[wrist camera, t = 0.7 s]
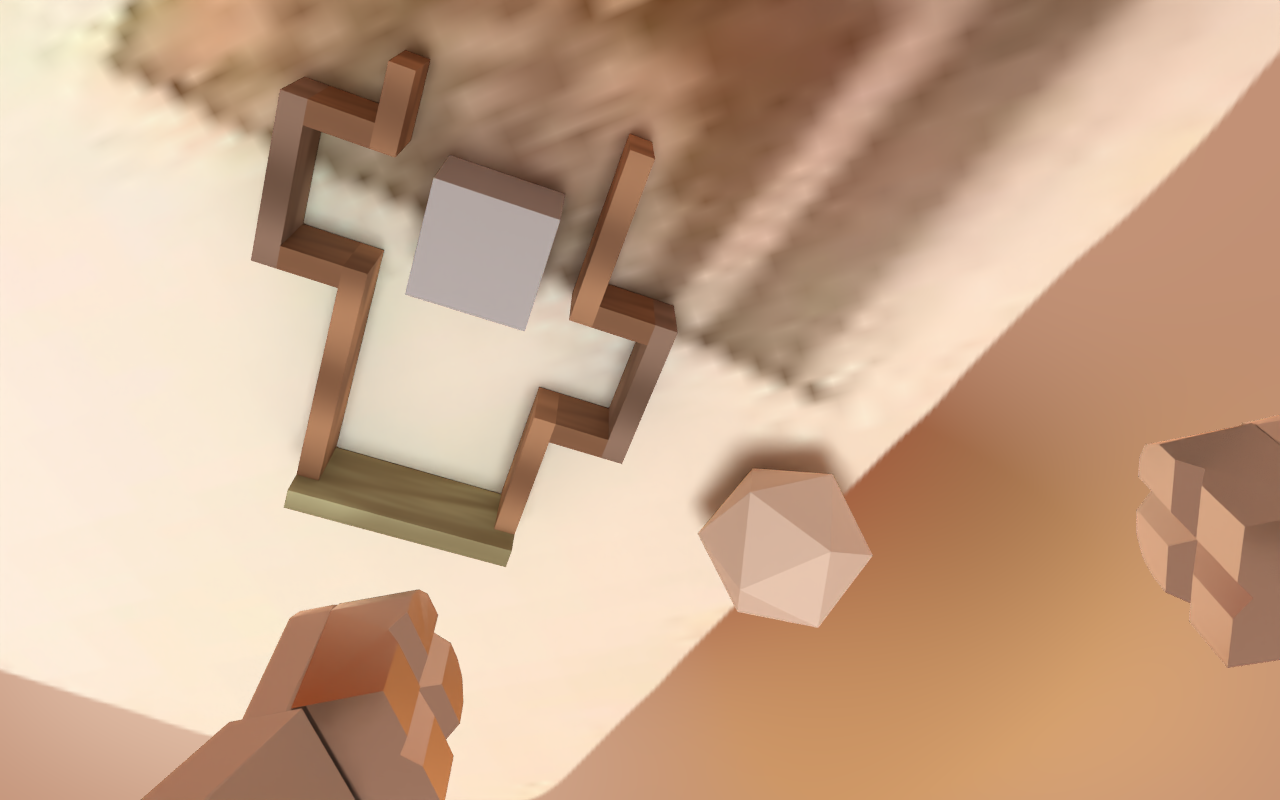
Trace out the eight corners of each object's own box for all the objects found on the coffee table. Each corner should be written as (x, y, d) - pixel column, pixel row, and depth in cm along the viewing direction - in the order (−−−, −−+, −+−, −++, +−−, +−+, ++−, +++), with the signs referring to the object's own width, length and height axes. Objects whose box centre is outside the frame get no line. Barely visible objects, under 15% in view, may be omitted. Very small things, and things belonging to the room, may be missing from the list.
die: (669, 512, 56) (724, 668, 51) (710, 445, 48) (779, 622, 44) (787, 486, 59) (849, 632, 54) (843, 419, 51) (920, 582, 47)
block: (450, 154, 44) (433, 177, 40) (565, 193, 45) (560, 220, 41) (423, 262, 47) (405, 294, 43) (532, 297, 48) (524, 331, 44)
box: (315, 16, 41) (279, 28, 37) (729, 170, 45) (742, 198, 40) (239, 437, 52) (203, 486, 47) (579, 532, 55) (576, 585, 51)
